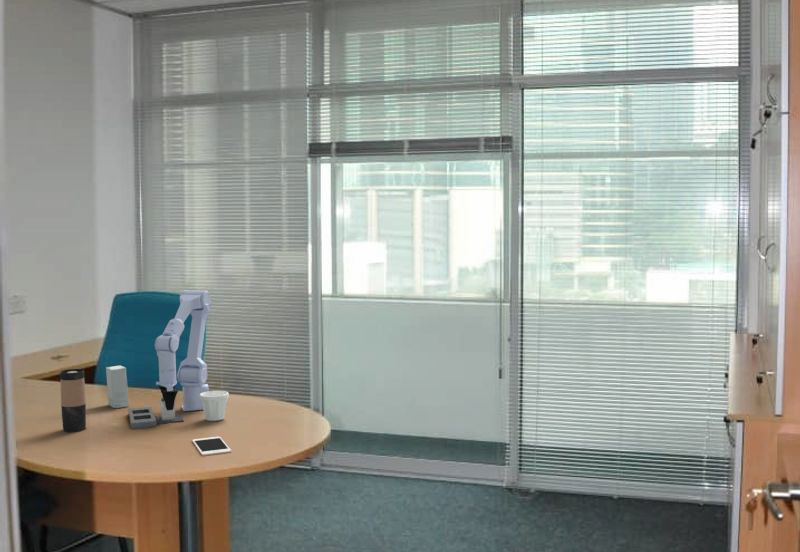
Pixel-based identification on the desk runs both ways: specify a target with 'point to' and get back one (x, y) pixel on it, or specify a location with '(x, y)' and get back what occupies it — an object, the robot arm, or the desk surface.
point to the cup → (214, 404)
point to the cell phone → (211, 446)
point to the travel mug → (73, 400)
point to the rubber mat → (177, 419)
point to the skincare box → (117, 386)
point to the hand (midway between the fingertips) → (168, 407)
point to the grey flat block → (141, 417)
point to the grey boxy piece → (166, 411)
